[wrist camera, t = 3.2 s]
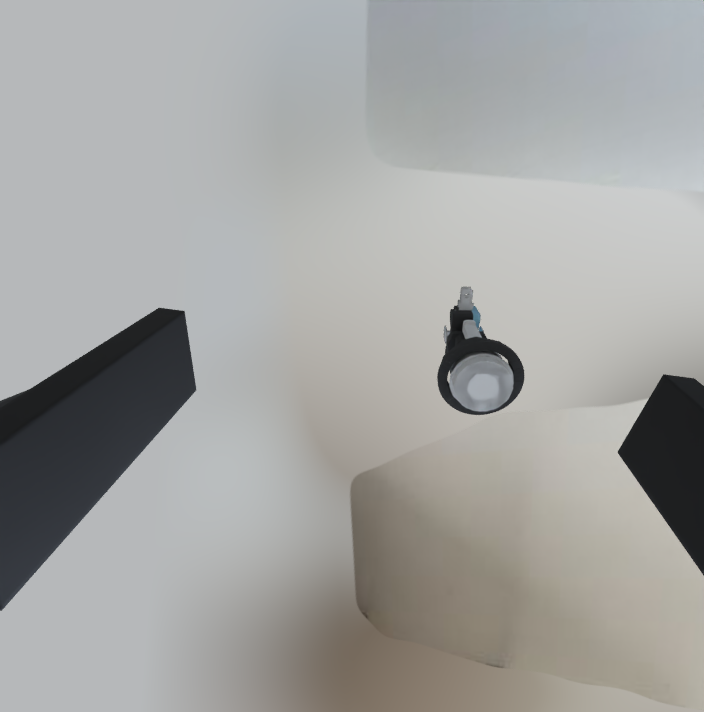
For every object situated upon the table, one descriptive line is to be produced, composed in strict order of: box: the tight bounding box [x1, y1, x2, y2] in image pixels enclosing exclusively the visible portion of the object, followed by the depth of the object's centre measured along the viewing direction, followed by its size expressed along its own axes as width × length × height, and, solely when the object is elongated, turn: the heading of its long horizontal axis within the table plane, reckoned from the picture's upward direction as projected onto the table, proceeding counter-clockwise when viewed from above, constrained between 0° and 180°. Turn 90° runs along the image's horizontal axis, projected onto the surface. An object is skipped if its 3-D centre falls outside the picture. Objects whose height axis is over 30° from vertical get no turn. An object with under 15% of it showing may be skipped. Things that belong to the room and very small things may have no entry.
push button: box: [438, 287, 524, 415], centre depth 27 cm, size 7×5×10 cm
